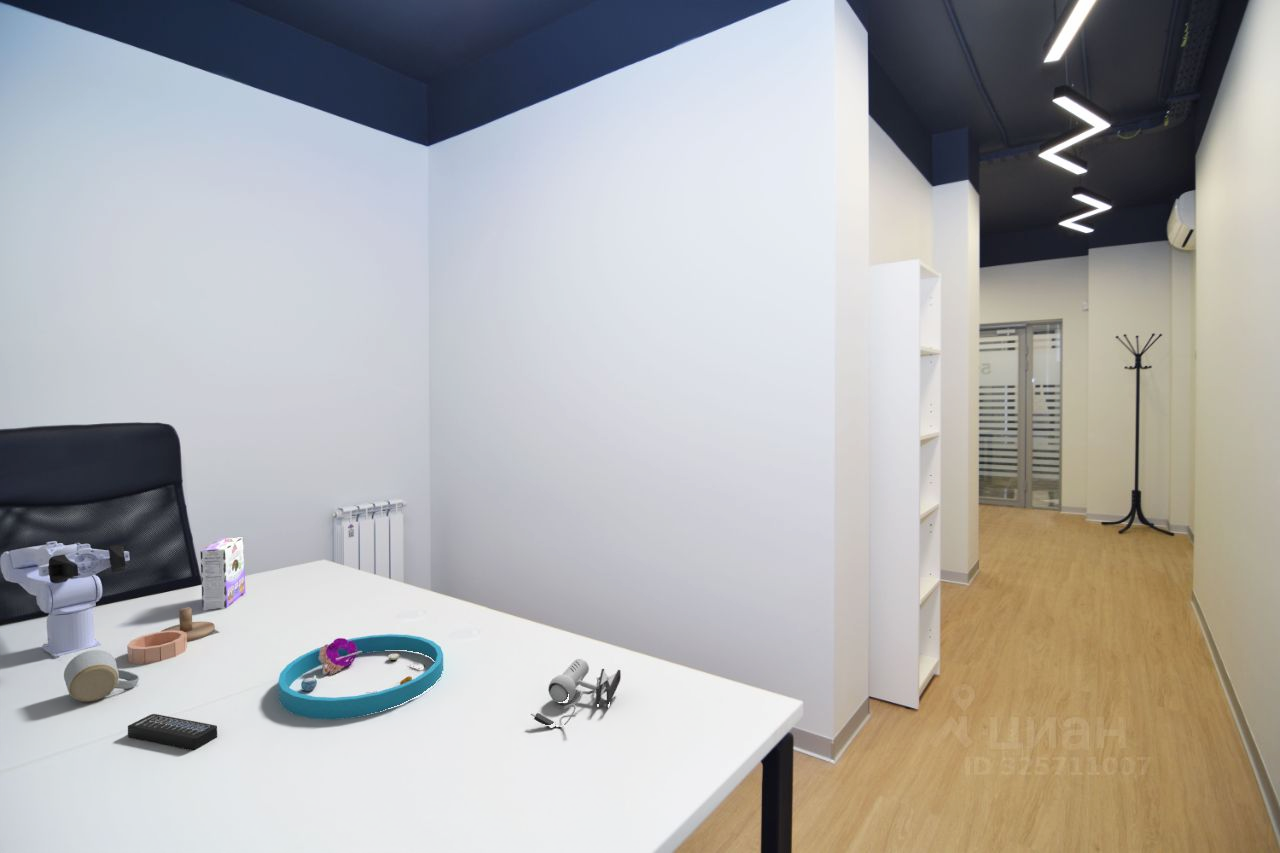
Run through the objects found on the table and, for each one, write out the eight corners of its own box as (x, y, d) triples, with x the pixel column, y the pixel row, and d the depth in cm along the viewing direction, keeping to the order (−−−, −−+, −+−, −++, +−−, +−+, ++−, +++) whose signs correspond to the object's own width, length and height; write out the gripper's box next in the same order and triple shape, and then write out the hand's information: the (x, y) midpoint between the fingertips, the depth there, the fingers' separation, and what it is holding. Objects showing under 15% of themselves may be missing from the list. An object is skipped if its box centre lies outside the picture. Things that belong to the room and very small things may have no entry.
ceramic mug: (69, 710, 114) (68, 668, 113) (64, 695, 119) (63, 655, 119) (142, 691, 121) (142, 652, 121) (135, 677, 127) (134, 640, 127)
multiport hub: (193, 753, 101) (193, 739, 101) (126, 739, 105) (126, 726, 105) (218, 738, 105) (218, 725, 105) (153, 725, 109) (152, 713, 109)
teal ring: (381, 641, 147) (380, 616, 146) (474, 671, 131) (473, 643, 131) (246, 694, 121) (245, 664, 120) (342, 739, 105) (341, 705, 105)
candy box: (222, 595, 177) (220, 537, 176) (246, 593, 178) (244, 536, 177) (201, 612, 163) (198, 549, 162) (226, 610, 165) (224, 548, 164)
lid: (148, 636, 146) (147, 611, 146) (202, 622, 155) (201, 598, 155) (168, 647, 140) (167, 621, 140) (223, 631, 149) (222, 607, 149)
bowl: (121, 657, 136) (120, 641, 135) (175, 642, 144) (174, 627, 144) (139, 669, 130) (139, 652, 130) (194, 652, 139) (194, 636, 138)
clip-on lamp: (579, 754, 106) (626, 686, 122) (577, 723, 104) (625, 659, 120) (521, 731, 111) (573, 669, 126) (519, 702, 109) (572, 642, 125)
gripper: (30, 550, 130) (51, 554, 123) (117, 536, 142) (141, 539, 135) (33, 584, 130) (54, 590, 123) (119, 567, 142) (143, 572, 135)
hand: (100, 566), depth 129 cm, fingers open, 7 cm apart
